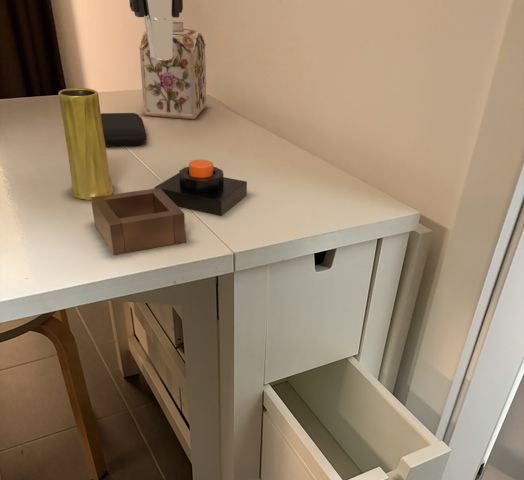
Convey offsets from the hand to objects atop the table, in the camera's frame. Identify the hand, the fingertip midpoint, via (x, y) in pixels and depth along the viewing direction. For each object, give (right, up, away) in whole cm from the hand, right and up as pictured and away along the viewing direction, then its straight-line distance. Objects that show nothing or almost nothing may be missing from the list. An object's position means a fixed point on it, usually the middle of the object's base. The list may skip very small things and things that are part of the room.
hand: (157, 16), depth 78 cm
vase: (-11, -23, +6) cm, 27 cm away
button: (+6, -21, +4) cm, 22 cm away
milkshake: (0, -4, +3) cm, 6 cm away
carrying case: (-13, -6, +30) cm, 33 cm away
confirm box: (+6, -24, +6) cm, 25 cm away
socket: (-2, -32, -4) cm, 32 cm away
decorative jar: (-5, +7, +47) cm, 48 cm away
